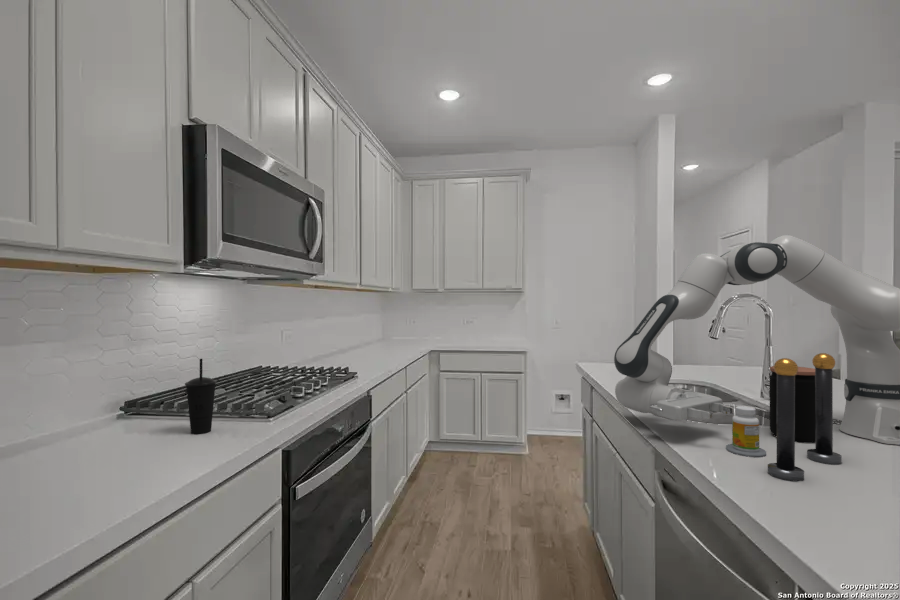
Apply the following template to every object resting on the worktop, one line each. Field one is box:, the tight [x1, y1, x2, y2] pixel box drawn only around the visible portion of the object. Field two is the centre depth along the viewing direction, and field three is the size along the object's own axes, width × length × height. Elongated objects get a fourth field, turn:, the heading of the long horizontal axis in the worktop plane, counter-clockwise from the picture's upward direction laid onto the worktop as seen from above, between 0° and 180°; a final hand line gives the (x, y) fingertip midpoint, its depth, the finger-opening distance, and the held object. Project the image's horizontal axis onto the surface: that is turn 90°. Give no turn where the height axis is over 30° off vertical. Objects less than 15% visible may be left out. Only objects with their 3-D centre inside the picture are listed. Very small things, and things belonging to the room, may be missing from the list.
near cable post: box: [767, 357, 805, 482], centre depth 93 cm, size 6×6×24 cm
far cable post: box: [806, 352, 843, 466], centre depth 102 cm, size 6×6×24 cm
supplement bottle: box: [731, 405, 760, 452], centre depth 108 cm, size 5×5×10 cm
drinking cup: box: [184, 358, 217, 435], centre depth 124 cm, size 8×8×20 cm
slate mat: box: [725, 443, 767, 458], centre depth 108 cm, size 8×8×1 cm
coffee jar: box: [769, 365, 815, 443], centre depth 119 cm, size 11×11×18 cm
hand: (721, 413), depth 112 cm, fingers open, 8 cm apart
